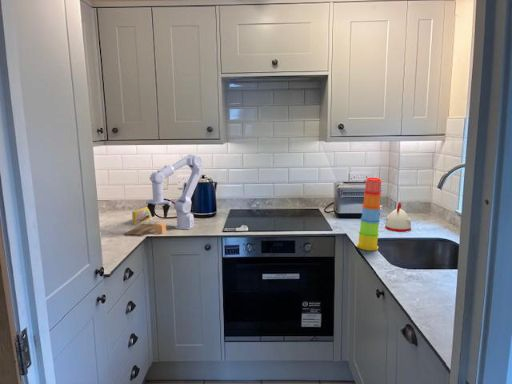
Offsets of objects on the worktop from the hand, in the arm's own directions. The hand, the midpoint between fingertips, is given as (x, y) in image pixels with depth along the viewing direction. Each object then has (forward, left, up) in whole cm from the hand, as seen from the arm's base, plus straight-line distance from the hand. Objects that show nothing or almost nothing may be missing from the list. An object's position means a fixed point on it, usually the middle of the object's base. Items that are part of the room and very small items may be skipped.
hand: (159, 217), depth 213 cm
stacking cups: (-114, +5, -9) cm, 114 cm away
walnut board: (+12, -1, -9) cm, 15 cm away
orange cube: (0, 0, -9) cm, 9 cm away
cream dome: (-133, -33, -9) cm, 137 cm away
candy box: (+23, -20, -9) cm, 32 cm away
